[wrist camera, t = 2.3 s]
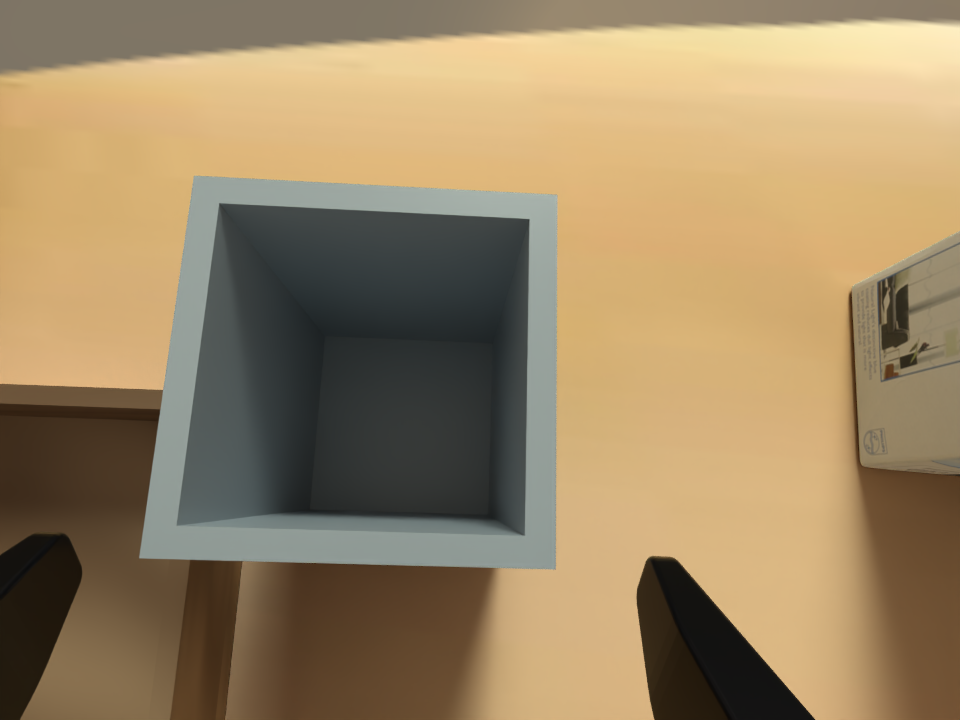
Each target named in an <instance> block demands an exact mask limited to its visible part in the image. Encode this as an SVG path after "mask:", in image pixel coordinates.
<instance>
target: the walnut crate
mask: <svg viewBox="0 0 960 720" xmlns="http://www.w3.org/2000/svg"><path fill="white" fill-rule="evenodd" d="M162 396H163V390H145V389H119V388H93V387H67V386H40V385H14V384H0V554H2V553H3V552H5V551H6V550H8V549H10V548H11V547H13V546H14V545H16V544H17V543H19V542H20V541H22V540H23V539H25V538H26V537H28V536H29V535H31V534H33V533H36V532H62V533H65V534H66V535H68V537H69V538H70V540H71V542H72V545H73V547H74V549H75V552H76V554H77V556H78V558H79V561H80V563H81V566H82V579H81V583H80V585H79V588H78V590H77V593H76V595H75V598H74V600H73V603H72V605H71V608H70V610H69V612H68V615H67V617H66V620H65V622H64V625H63V627H62V630H61V632H60V635H59V637H58V639H57V642H56V644H55V647H54V649H53V652H52V654H51V657H50V659H49V662H48V664H47V666H46V669H45V671H44V673H43V675H42V678H41V680H40V682H39V684H38V686H37V688H36V690H35V692H34V694H33V696H32V698H31V700H30V702H29V704H28V706H27V707H26V709H25V711H24V713H23V715H22V717H21V719H20V720H225V711H226V702H227V693H228V684H229V675H230V665H231V656H232V647H233V638H234V629H235V620H236V610H237V601H238V592H239V583H240V574H241V565H242V561H222V560H185V559H147V558H139V556H140V549H141V542H142V535H143V528H144V521H145V514H146V507H147V500H148V493H149V486H150V479H151V472H152V465H153V458H154V451H155V444H156V437H157V431H158V424H159V417H160V410H161V403H162Z"/></svg>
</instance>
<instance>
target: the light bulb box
mask: <svg viewBox="0 0 960 720" xmlns="http://www.w3.org/2000/svg"><path fill="white" fill-rule="evenodd" d="M852 309H853V329H854V349H855V370H856V391H857V411H858V433H859V452H860V463H861V465H862V466H865V467H870V468H879V469H887V470H898V471H910V472H921V473H932V474H943V475H955V476H960V231H959V232H957V233H955V234H953V235H951V236H949V237H947V238H945V239H943V240H941V241H939V242H937V243H935V244H933V245H931V246H930V247H927V248H925V249H923V250H921V251H919V252H917V253H915V254H913V255H911V256H909V257H907V258H905V259H904V260H902V261H900V262H898V263H896V264H894V265H892V266H890V267H888V268H886V269H884V270H882V271H880V272H878V273H876V274H874V275H872V276H870V277H869V278H867V279H865V280H863V281H861V282H859V283H857V284H855V285H854V286H852Z"/></svg>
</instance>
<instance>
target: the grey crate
mask: <svg viewBox="0 0 960 720" xmlns="http://www.w3.org/2000/svg"><path fill="white" fill-rule="evenodd" d="M556 371H557V195H551V194H532V193H513V192H494V191H475V190H456V189H437V188H418V187H399V186H380V185H361V184H342V183H323V182H304V181H285V180H266V179H247V178H228V177H209V176H194V180H193V187H192V194H191V201H190V208H189V215H188V221H187V228H186V235H185V242H184V249H183V256H182V263H181V270H180V277H179V284H178V291H177V298H176V305H175V312H174V319H173V326H172V333H171V340H170V347H169V354H168V361H167V368H166V375H165V382H164V389H163V396H162V403H161V410H160V417H159V424H158V431H157V437H156V444H155V451H154V458H153V465H152V472H151V479H150V486H149V493H148V500H147V507H146V514H145V521H144V528H143V535H142V542H141V549H140V556H139V558H147V559H185V560H222V561H260V562H297V563H335V564H372V565H409V566H447V567H484V568H522V569H556Z"/></svg>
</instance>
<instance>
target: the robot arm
mask: <svg viewBox="0 0 960 720" xmlns="http://www.w3.org/2000/svg"><path fill="white" fill-rule="evenodd" d="M81 579H82V566H81V563H80V561H79V558H78V556H77V554H76V552H75V549H74V547H73V545H72V542H71V540H70V538H69V537H68V535H66V534H65V533H62V532H36V533H33V534H31V535H29V536H28V537H26V538H25V539H23V540H22V541H20V542H19V543H17V544H16V545H14V546H13V547H11V548H10V549H8V550H6V551H5V552H3V553H2V554H0V720H20V719H21V717H22V715H23V713H24V711H25V709H26V707H27V706H28V704H29V702H30V700H31V698H32V696H33V694H34V692H35V690H36V688H37V686H38V684H39V682H40V680H41V678H42V675H43V673H44V671H45V669H46V666H47V664H48V662H49V659H50V657H51V654H52V652H53V649H54V647H55V644H56V642H57V639H58V637H59V635H60V632H61V630H62V627H63V625H64V622H65V620H66V617H67V615H68V612H69V610H70V608H71V605H72V603H73V600H74V598H75V595H76V593H77V590H78V588H79V585H80V583H81ZM637 608H638V616H639V623H640V631H641V638H642V646H643V653H644V661H645V668H646V676H647V683H648V690H649V696H650V702H651V707H652V711H653V716H654V720H815V719H814V718H813V716H812V715H811V714H810V713H809V712H808V711H807V709H806V708H805V707H804V706H803V705H802V704H801V703H800V701H799V700H798V699H797V698H796V697H795V696H794V694H793V693H792V692H791V691H790V690H789V689H788V688H787V686H786V685H785V684H784V683H783V682H782V681H781V679H780V678H779V677H778V676H777V675H776V674H775V673H774V671H773V670H772V669H771V668H770V667H769V666H768V664H767V663H766V662H765V661H764V660H763V659H762V657H761V656H760V655H759V654H758V653H757V652H756V651H755V649H754V648H753V647H752V646H751V645H750V644H749V642H748V641H747V640H746V639H745V638H744V637H743V636H742V634H741V633H740V632H739V631H738V630H737V629H736V627H735V626H734V625H733V624H732V623H731V622H730V620H729V619H728V618H727V617H726V616H725V615H724V614H723V612H722V611H721V610H720V609H719V608H718V607H717V605H716V604H715V603H714V602H713V601H712V600H711V599H710V597H709V596H708V595H707V594H706V593H705V592H704V590H703V589H702V588H701V587H700V586H699V585H698V584H697V582H696V581H695V580H694V579H693V578H692V577H691V575H690V574H689V573H688V572H687V571H686V570H685V568H684V567H683V566H682V565H681V564H680V563H679V562H678V561H677V560H676V559H675V558H673V557H661V556H651V557H649V558H648V559H647V561H646V563H645V566H644V569H643V572H642V575H641V578H640V582H639V585H638V588H637Z"/></svg>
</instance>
